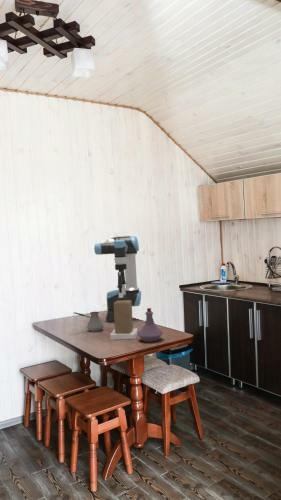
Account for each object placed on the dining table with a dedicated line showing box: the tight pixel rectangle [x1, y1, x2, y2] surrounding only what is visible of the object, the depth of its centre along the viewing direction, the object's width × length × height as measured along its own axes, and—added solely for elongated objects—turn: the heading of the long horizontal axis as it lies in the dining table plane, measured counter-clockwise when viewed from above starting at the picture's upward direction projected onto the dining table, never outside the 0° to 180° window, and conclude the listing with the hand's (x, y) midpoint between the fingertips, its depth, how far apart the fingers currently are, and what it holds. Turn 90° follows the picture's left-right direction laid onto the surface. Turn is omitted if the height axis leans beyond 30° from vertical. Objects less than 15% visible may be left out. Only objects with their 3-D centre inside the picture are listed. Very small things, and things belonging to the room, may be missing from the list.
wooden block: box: [114, 300, 134, 333], centre depth 285 cm, size 10×10×20 cm
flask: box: [137, 307, 164, 343], centre depth 272 cm, size 16×16×20 cm
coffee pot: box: [73, 311, 104, 333], centre depth 304 cm, size 21×12×15 cm, turn 117°
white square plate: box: [109, 327, 139, 341], centre depth 286 cm, size 16×16×3 cm
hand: (122, 295), depth 285 cm, fingers open, 13 cm apart
